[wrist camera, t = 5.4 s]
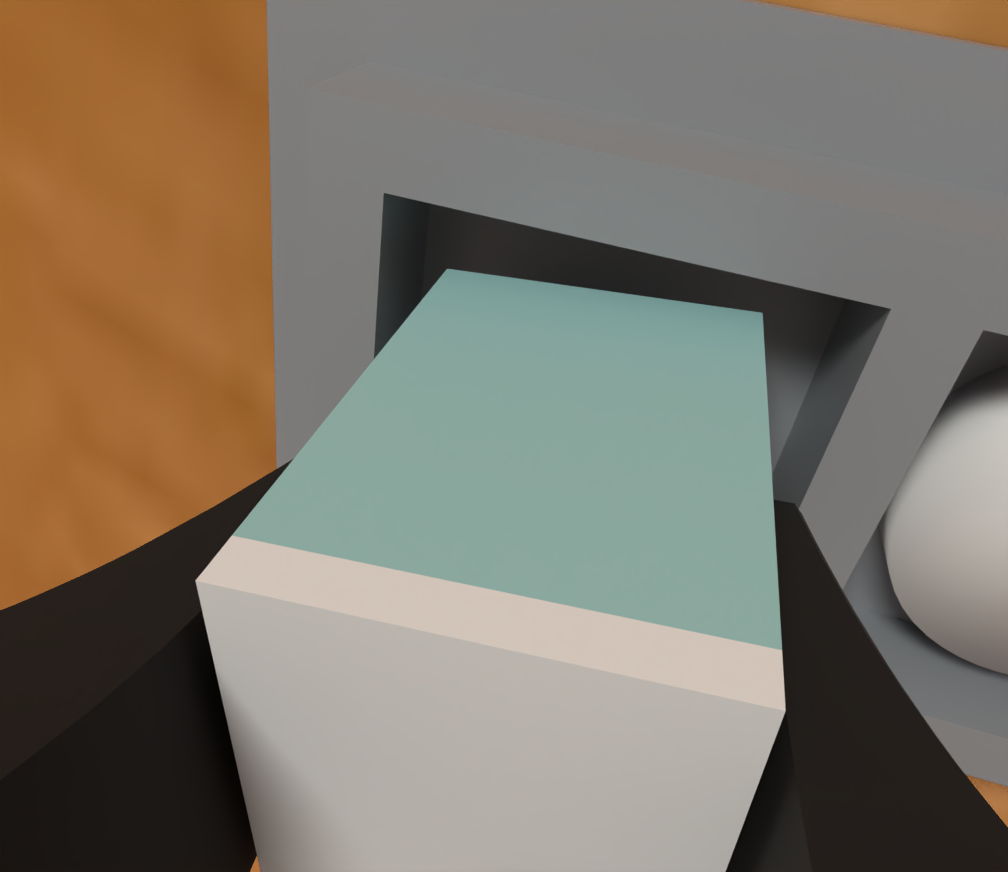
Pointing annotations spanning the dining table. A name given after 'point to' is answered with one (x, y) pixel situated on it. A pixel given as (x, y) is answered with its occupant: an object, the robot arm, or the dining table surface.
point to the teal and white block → (513, 596)
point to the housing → (695, 253)
